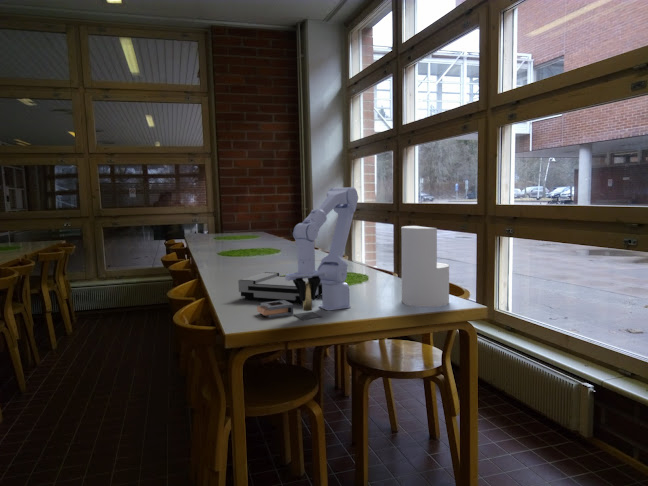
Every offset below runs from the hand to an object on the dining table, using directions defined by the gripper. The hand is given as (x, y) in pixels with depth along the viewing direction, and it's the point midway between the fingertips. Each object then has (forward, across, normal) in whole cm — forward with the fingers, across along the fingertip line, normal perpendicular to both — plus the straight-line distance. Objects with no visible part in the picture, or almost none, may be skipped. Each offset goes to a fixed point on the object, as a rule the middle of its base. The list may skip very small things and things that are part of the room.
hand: (307, 299), depth 153 cm
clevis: (+6, -8, +8) cm, 13 cm away
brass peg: (+3, 0, 0) cm, 3 cm away
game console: (+6, +6, +32) cm, 33 cm away
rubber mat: (+6, 0, 0) cm, 6 cm away
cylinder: (+6, +47, -4) cm, 47 cm away
